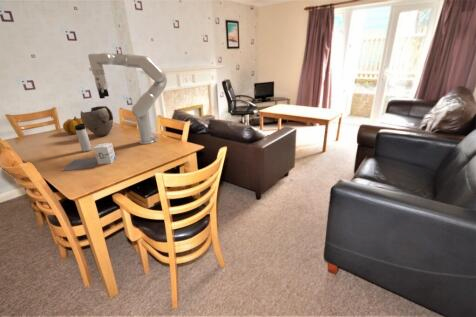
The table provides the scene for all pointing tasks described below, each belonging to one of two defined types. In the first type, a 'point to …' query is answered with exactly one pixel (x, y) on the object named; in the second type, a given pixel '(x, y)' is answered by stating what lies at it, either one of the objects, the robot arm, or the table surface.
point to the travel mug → (83, 138)
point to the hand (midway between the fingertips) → (104, 97)
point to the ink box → (104, 153)
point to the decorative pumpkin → (72, 125)
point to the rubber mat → (81, 164)
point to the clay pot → (98, 120)
